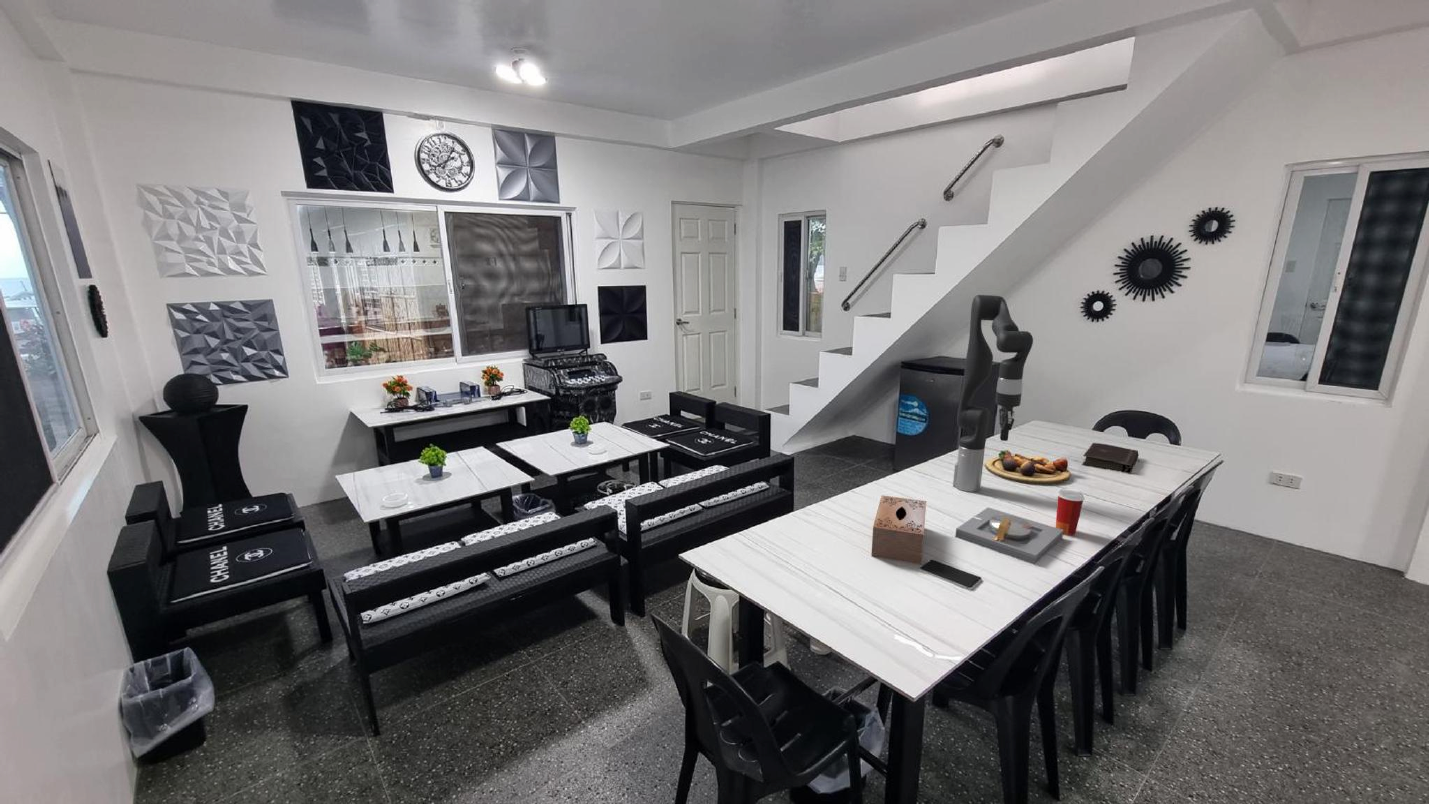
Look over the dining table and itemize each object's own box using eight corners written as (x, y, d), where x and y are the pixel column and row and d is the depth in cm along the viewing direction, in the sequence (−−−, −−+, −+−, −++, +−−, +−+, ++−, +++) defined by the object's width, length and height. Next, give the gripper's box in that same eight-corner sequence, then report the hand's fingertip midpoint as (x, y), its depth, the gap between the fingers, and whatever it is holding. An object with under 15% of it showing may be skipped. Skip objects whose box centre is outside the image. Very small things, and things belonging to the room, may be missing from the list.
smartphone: (931, 558, 171) (982, 577, 160) (931, 562, 171) (982, 581, 160) (918, 568, 165) (970, 588, 155) (918, 572, 165) (970, 592, 155)
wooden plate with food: (1071, 467, 247) (1073, 449, 245) (1069, 491, 220) (1071, 471, 219) (990, 456, 264) (991, 439, 262) (979, 477, 237) (981, 458, 236)
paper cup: (1075, 528, 190) (1081, 489, 187) (1081, 538, 183) (1088, 498, 180) (1049, 525, 193) (1054, 486, 189) (1054, 535, 186) (1060, 495, 182)
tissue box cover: (921, 565, 168) (923, 534, 166) (871, 556, 174) (873, 526, 171) (924, 528, 192) (926, 501, 189) (879, 522, 197) (881, 495, 195)
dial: (994, 520, 192) (996, 503, 190) (1034, 530, 184) (1036, 513, 183) (979, 538, 179) (981, 520, 178) (1020, 550, 172) (1023, 532, 170)
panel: (955, 536, 185) (956, 527, 184) (986, 515, 201) (987, 506, 200) (1034, 564, 168) (1035, 554, 167) (1062, 538, 183) (1063, 529, 182)
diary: (1137, 460, 256) (1139, 450, 255) (1130, 476, 238) (1133, 464, 236) (1089, 451, 268) (1091, 441, 266) (1079, 465, 250) (1081, 454, 248)
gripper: (1025, 396, 181) (1020, 447, 186) (1017, 386, 194) (1012, 434, 198) (1000, 395, 184) (995, 445, 188) (993, 385, 196) (988, 433, 200)
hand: (1003, 440), depth 193 cm, fingers closed
